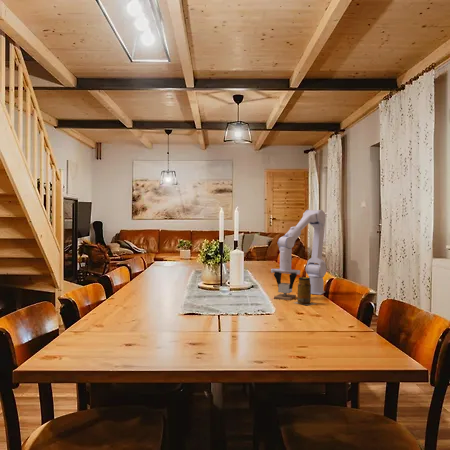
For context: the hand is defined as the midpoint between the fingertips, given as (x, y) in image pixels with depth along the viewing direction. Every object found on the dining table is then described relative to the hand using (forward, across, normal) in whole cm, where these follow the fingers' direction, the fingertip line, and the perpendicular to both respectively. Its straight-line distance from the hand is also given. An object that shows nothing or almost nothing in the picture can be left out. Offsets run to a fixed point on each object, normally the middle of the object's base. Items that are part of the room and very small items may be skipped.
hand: (285, 288), depth 224 cm
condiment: (+5, +13, -9) cm, 16 cm away
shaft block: (+5, 0, 0) cm, 5 cm away
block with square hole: (+2, 0, 0) cm, 2 cm away
